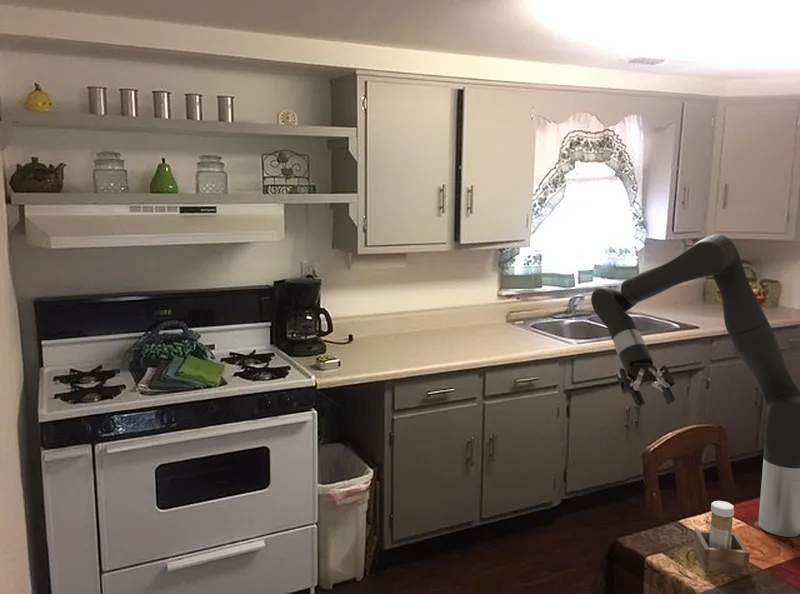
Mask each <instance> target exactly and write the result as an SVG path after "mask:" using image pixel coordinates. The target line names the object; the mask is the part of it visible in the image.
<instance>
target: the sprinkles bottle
mask: <svg viewBox="0 0 800 594" xmlns="http://www.w3.org/2000/svg"><path fill="white" fill-rule="evenodd" d="M710 511H711V512H710V513H711V517H710V528H709V529H710V530H709V531H710V540H709V548H721V549H731V541H732V537H731V535H732V532H733V518H734V515H735V507H734V505H733V504H731V503H730V502H728V501H723V500H715V501H713V502H711V505H710Z"/></svg>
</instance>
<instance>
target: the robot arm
mask: <svg viewBox="0 0 800 594" xmlns="http://www.w3.org/2000/svg"><path fill="white" fill-rule="evenodd" d="M736 246H737V245H736V244H735V243H734V242H733V241H732V239H730V238H729V237H727V236H725V235H722V234H718V233H717V234H712V235H709V236H707V237H704V238H701V240H698V241H696V242H695V243H694V244H693V245H692V246H690V247H689V248H688V249H687V250H685V251H683V252H682V253H680V254H679V255H677V256H676V257H674V258H673V259H671V260H669V261H667V262H664V263H662V264H660V265H657V266H654V267H651V268H649V269H646V270H644V271H640V272H639V273H637V274H635V275H632V276H631V277H628V278H627V279H624V281H622V283H621V285H620V289H616V288H615V289H614V288H611V287H610V286H609V287H608V286H599V287H597V288H595V289H594V290H593V291H592V293H591V298H590V300H591V306H592V308H593V309H592V310H594V312H595V314H596V315H597V317H598V318H599V320H600V321H601V322H602V323H603V324H604V325H605V327H606V328H607V330H608V333H609V334H610V338H611V340H612V342H613V345H614V348H615V351H616V354H617V355H618V358H619V360H620V363H621V364H622V368H620V369H619V370H618V371H617V372H616V378H617V381H618V384H619V387H620V389H621V392H622V394H629V395H631V397H632V399H633V401H634V404H635V405H636V406H637V407H638V408H643V407H644V406H645V405H646V403H645V400H644V398H643V396H642V393H641V391H640V390H639V388H640V387H643V386H652V387H653V388H656V389H658V390H659V391H661V394H662V397H663V398H664V400H665V403H666V405H668V406H671V405H673V403H674V402H675V396H674V394H673V392H672V390H671V389H672V388H674V386H675V385H676V382H675V380H674V378H673V376H672V375H671V373H670V370H669V369H668V368H667V366H666V365H662V366H660V367H656V366H655V365H654V361H653V357H652V355H651V353H650V351H649V348H648V347H647V345H646V343H645V341H644V338H643V336H642V335H641V333H640V332H639V330H638V328H637V325H636V323H635V321H634V319H633V318H632V316H631V315H629V314H628V313H627V312H628V311H629V310H631V309H632V308H633V307H635V306H636V305H637V304H638V303H640V302H644V301H645V300H647V299H650V298H652V297H655V296H657V295H660V294H662V292H665V291H667V290H669V289H671V288H673V287H675V286H677V285H681V284H683V283H686V282H689V281H693V280H698V279H703V278H707V277H712V278H713V280H714V282H715V284H716V286H717V288H718V290H719V293H720V297H721V302H722V303H721V304H722V311H723V321H724V326H725V329H726V331H727V334H728V336H729V338H730V340H731V343H732V345H733V346H734V349H735V351H736V352H737V354H738V356H739V357H740V358H741V361H742V362H743V363H744V364H745V366H746V368H747V369H748V370H749V372H751V375H753V377H754V379H755V381H756V382H757V384H758V386H759V389H760V391H761V394H762V397H763V400H764V404H765V407H766V411H767V412H766V413H767V414H766V425H765V426H766V427H765V439H764V447H763V448H764V449H763V462H762V474H761V475H762V476H761V485H760V487H761V488H760V499H759V510H758V511H759V512H758V527H759V528H761V529H762V530H764V531H766V532H767V533H770V534H771V535H775V536H778V537H779V536H780V537H784V538H787V537H789V538H792V537H793V538H795V537H798V536H800V389H798V387H797V385H796V383H795V382H794V380H793V378H792V375H791V374H790V373H789V370H788V368H787V365H786V362H785V359H784V356H783V354H782V350H781V348H780V345H779V343H778V339H777V338H776V335H775V333H774V331H773V328H772V326H771V325H770V322H769V320H768V318H767V317H766V314H765V313H764V311H763V309H762V307H761V304H760V302H759V300H758V297H757V296H756V294H755V292H754V290H753V289H752V286H751V284H750V282H749V280H748V277H747V274H746V271H745V268H744V266H743V262H742V259H741V257H740V254H739V251H738V248H737V247H736ZM629 379H630V380H631V384H630V381H629ZM656 380H657V381H656ZM639 386H640V387H639Z"/></svg>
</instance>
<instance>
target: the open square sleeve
mask: <svg viewBox="0 0 800 594" xmlns="http://www.w3.org/2000/svg"><path fill="white" fill-rule="evenodd" d="M731 537H732V541H731V549H721V548H709V540H710V530H707V529H706V530H703V529H694V531H693V546H692V549H693V553H694V554H695V556H696V558H697V560H698V562H699V565H700V567H701V569H702V570H703V572H709V573H711V572H712V573H722V574H723V573H724V574H732V575H733V574H734V575H746V576H747V575H748V576H749V568H750V555H751V553H750V551H749V549H748V547H747V546H746V544H744V542H743V541H742V539H741V537H740V536H739V534H738V533H737V532H733V531H732V535H731Z"/></svg>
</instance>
